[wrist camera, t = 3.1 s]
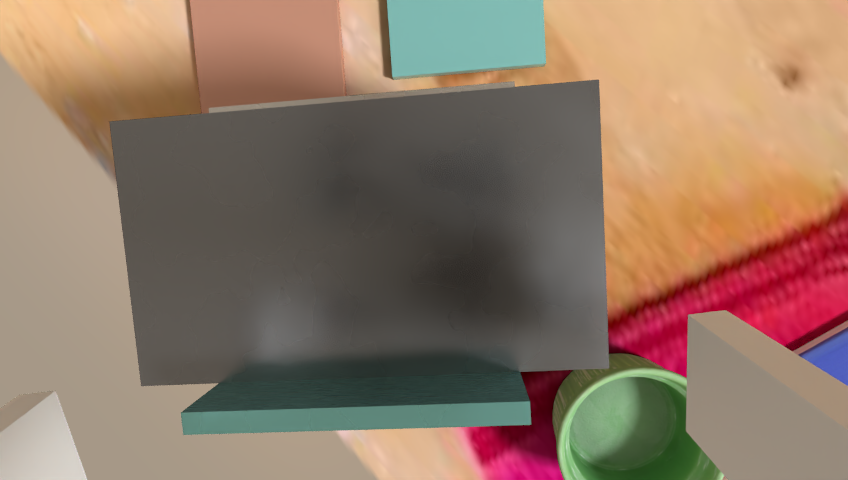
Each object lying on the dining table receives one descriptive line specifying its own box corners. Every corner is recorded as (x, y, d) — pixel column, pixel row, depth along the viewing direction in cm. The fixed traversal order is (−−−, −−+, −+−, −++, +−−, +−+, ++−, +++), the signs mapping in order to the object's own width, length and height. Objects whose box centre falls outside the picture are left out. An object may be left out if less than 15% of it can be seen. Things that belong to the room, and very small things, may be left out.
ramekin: (719, 433, 30) (764, 474, 25) (595, 506, 31) (617, 558, 26) (638, 315, 29) (669, 336, 25) (515, 393, 30) (524, 426, 26)
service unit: (295, 152, 30) (47, 84, 12) (521, 134, 29) (623, 31, 11) (308, 297, 31) (94, 437, 13) (529, 285, 29) (635, 421, 12)
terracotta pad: (194, -3, 29) (188, -7, 29) (337, -18, 29) (334, -23, 28) (209, 144, 30) (204, 143, 30) (349, 133, 29) (346, 132, 29)
